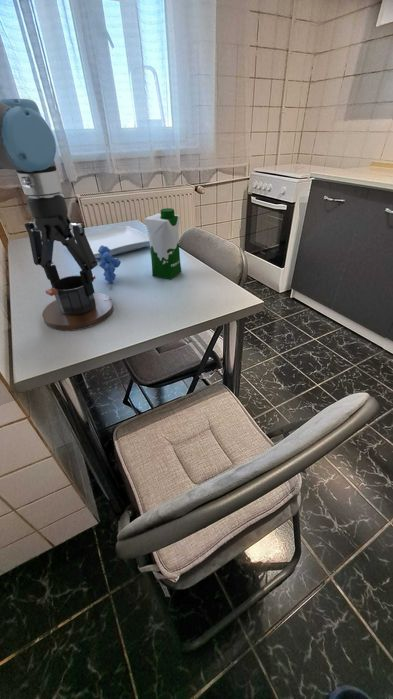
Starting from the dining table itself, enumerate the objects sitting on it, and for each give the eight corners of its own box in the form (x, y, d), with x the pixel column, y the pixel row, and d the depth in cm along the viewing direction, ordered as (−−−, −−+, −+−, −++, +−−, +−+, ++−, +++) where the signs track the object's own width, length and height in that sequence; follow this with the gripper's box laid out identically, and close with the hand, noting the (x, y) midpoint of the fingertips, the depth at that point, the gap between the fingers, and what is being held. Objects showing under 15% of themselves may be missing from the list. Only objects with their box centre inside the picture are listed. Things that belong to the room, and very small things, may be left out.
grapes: (128, 286, 91) (121, 247, 84) (106, 291, 89) (97, 251, 82) (120, 273, 100) (114, 237, 92) (100, 277, 98) (91, 240, 90)
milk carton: (171, 281, 93) (165, 213, 81) (148, 276, 97) (139, 211, 85) (185, 271, 99) (182, 207, 87) (162, 267, 103) (156, 205, 91)
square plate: (70, 245, 125) (67, 236, 123) (128, 233, 138) (127, 224, 136) (93, 263, 108) (90, 252, 105) (157, 247, 120) (156, 237, 118)
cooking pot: (108, 302, 80) (102, 278, 75) (66, 321, 72) (57, 296, 68) (88, 293, 84) (82, 270, 80) (47, 310, 76) (38, 286, 72)
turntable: (50, 338, 69) (47, 332, 68) (39, 307, 82) (37, 302, 81) (123, 317, 76) (122, 311, 75) (103, 291, 89) (101, 286, 88)
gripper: (-11, 197, 61) (29, 295, 75) (79, 199, 57) (104, 303, 70) (15, 191, 67) (48, 283, 81) (98, 192, 62) (118, 290, 76)
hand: (74, 292), depth 76 cm, fingers closed on cooking pot, 9 cm apart
